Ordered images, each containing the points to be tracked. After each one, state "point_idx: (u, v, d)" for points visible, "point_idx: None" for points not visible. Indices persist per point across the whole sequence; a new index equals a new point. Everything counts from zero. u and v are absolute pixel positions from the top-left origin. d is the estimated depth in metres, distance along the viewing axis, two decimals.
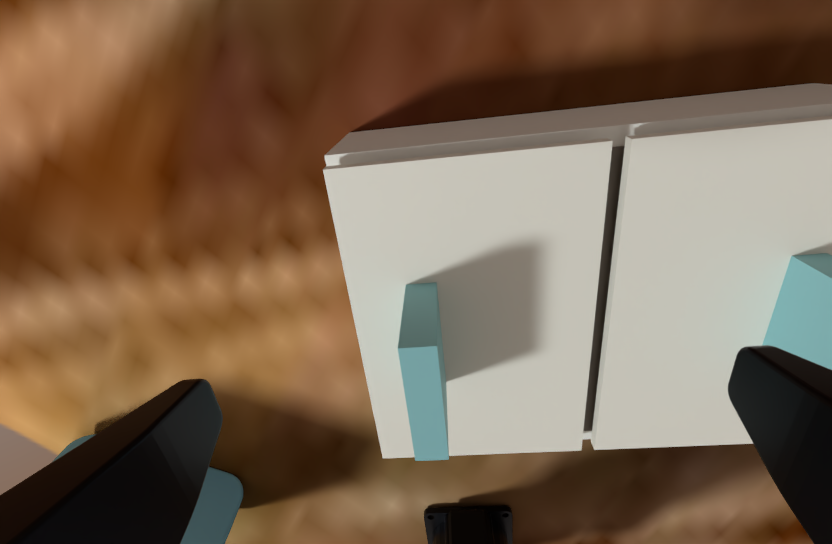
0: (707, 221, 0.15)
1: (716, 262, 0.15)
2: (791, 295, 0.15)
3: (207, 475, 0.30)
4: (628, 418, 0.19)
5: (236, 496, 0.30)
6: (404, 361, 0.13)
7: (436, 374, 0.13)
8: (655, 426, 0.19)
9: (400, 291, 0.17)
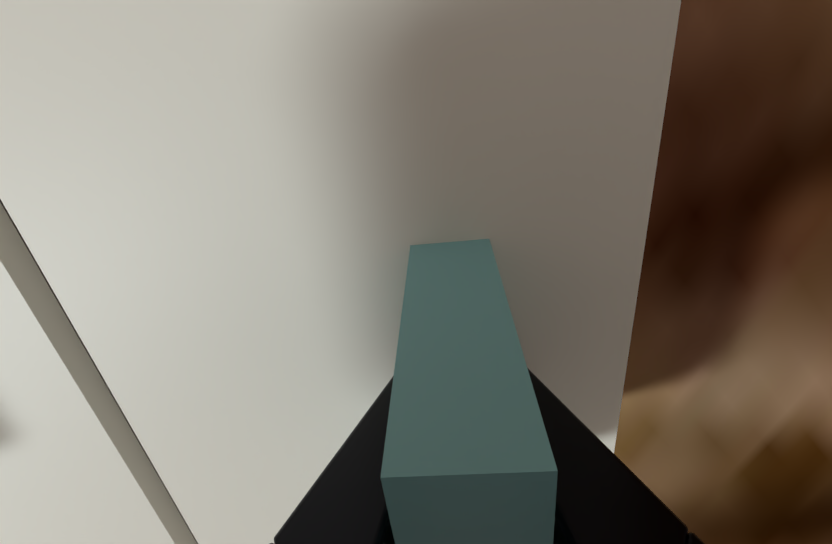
0: (175, 160, 0.06)
1: (250, 260, 0.07)
2: None
3: None
4: None
5: None
6: None
7: None
8: None
9: None
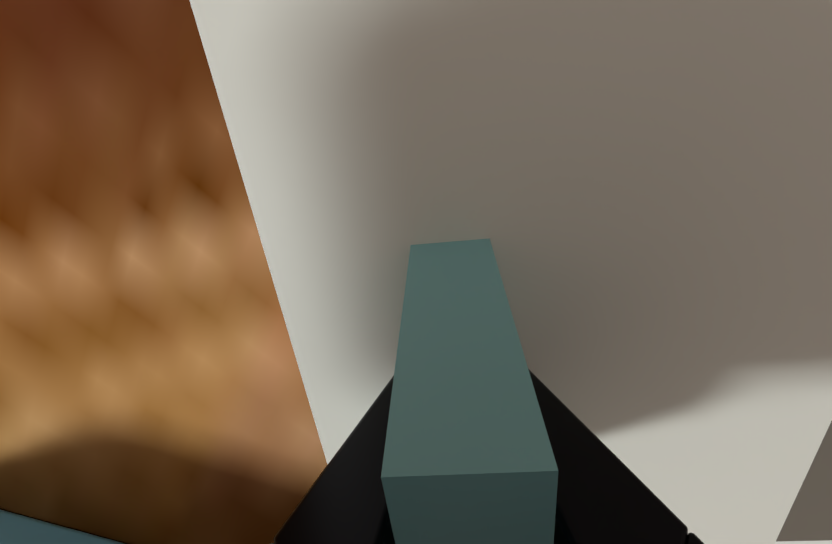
0: None
1: None
2: None
3: None
4: None
5: None
6: (410, 521, 0.03)
7: None
8: None
9: (397, 262, 0.07)
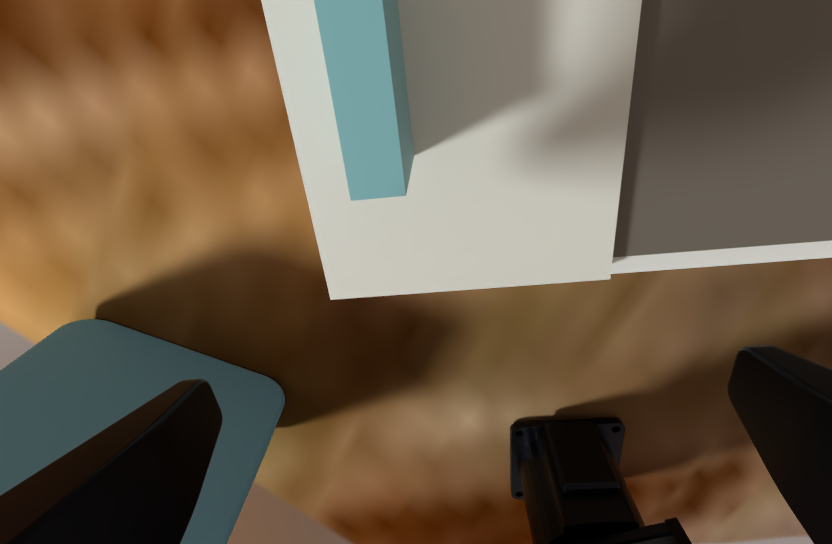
0: None
1: None
2: None
3: (239, 375, 0.24)
4: None
5: (277, 400, 0.23)
6: None
7: None
8: None
9: None
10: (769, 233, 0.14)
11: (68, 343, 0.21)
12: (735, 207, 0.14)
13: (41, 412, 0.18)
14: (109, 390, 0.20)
